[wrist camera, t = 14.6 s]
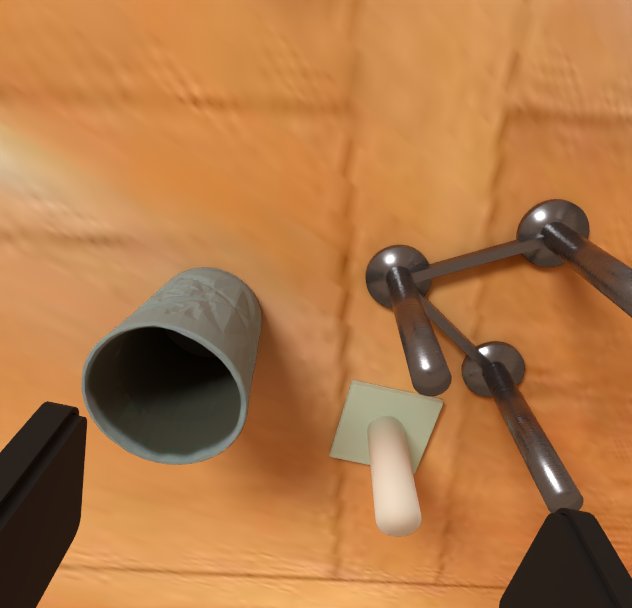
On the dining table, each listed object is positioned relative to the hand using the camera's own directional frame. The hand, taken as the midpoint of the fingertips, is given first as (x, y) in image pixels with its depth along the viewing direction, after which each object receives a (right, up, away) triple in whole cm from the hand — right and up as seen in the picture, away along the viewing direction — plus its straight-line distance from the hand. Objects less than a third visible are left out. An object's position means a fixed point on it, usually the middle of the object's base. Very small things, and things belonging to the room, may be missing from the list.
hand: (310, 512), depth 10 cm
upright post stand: (+11, +5, +31) cm, 33 cm away
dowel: (+6, -7, +35) cm, 37 cm away
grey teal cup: (-9, +3, +32) cm, 34 cm away
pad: (+6, -7, +36) cm, 37 cm away
